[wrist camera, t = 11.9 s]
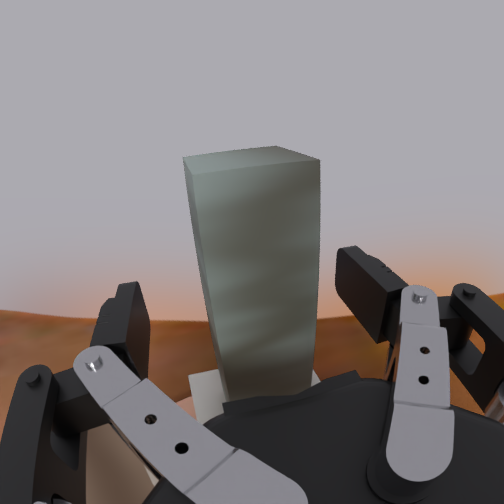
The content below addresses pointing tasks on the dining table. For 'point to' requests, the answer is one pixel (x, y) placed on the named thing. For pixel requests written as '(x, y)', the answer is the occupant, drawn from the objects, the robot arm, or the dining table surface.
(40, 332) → the dining table surface
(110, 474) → the grey-brown board
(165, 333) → the dining table surface
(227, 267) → the tall grey square pillar
